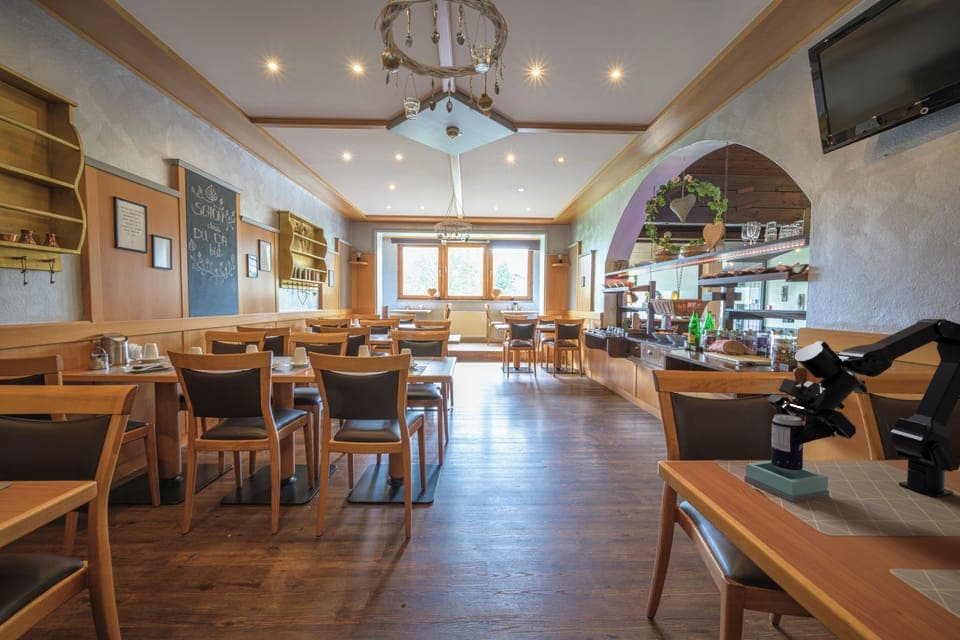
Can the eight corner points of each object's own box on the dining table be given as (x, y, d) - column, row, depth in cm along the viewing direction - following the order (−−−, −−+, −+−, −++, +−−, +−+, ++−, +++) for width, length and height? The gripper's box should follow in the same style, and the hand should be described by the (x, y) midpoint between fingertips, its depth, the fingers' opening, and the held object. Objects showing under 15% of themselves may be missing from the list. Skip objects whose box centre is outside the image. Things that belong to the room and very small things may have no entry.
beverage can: (804, 476, 86) (805, 421, 86) (772, 470, 89) (773, 418, 89) (800, 467, 91) (801, 416, 91) (770, 462, 94) (771, 412, 94)
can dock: (778, 476, 97) (779, 459, 97) (829, 496, 86) (829, 477, 86) (744, 480, 94) (744, 463, 94) (792, 502, 83) (792, 482, 83)
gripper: (774, 362, 99) (730, 405, 99) (843, 373, 80) (788, 427, 80) (805, 393, 99) (761, 436, 99) (880, 411, 80) (826, 465, 81)
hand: (781, 440), depth 90 cm, fingers closed on beverage can, 6 cm apart
